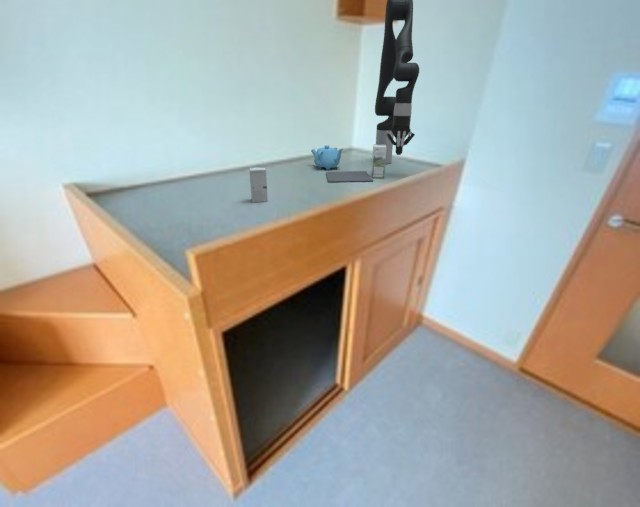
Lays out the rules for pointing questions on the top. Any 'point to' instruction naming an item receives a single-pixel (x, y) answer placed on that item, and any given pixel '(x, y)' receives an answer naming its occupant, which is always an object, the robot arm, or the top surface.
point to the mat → (348, 176)
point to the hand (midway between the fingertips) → (398, 154)
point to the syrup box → (378, 161)
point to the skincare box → (258, 184)
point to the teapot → (327, 157)
